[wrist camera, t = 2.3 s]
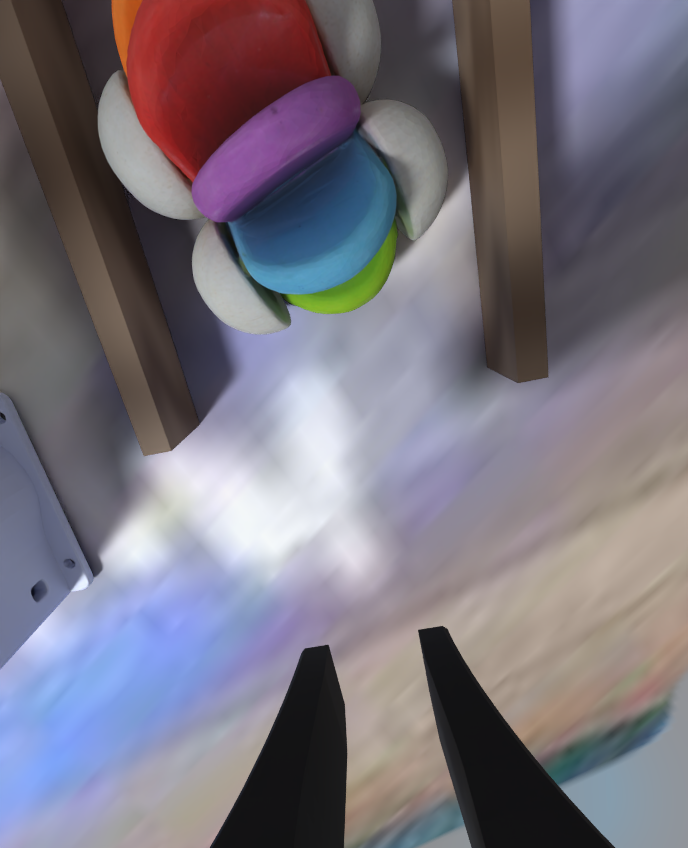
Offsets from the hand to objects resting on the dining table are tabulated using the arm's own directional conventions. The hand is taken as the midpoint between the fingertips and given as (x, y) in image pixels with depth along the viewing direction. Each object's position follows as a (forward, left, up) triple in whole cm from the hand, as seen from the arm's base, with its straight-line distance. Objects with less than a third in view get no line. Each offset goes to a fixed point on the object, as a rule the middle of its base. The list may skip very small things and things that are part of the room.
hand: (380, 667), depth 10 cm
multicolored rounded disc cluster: (+13, 0, -9) cm, 16 cm away
